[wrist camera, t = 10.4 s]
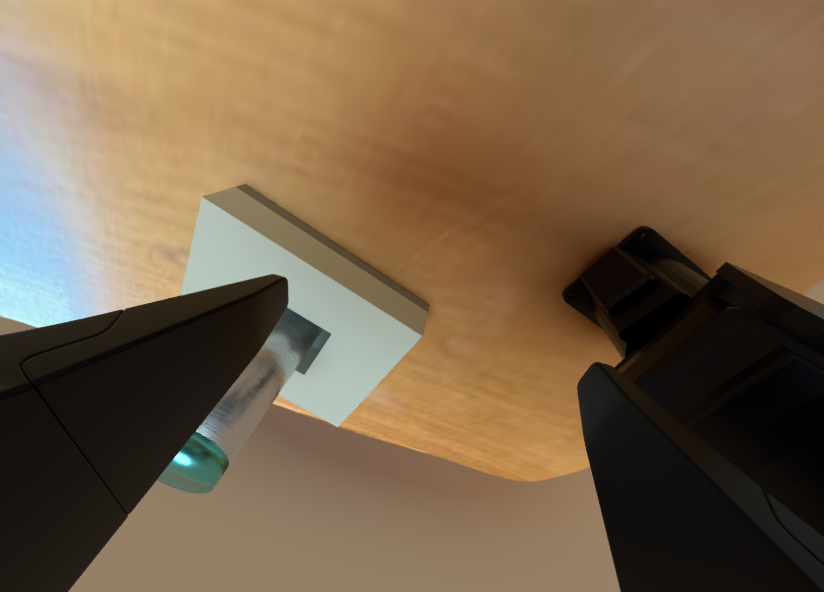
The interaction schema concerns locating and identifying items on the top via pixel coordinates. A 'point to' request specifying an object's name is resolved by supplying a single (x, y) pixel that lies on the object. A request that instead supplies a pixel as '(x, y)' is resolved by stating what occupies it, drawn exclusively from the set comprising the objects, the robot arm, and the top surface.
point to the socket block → (309, 296)
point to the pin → (241, 407)
